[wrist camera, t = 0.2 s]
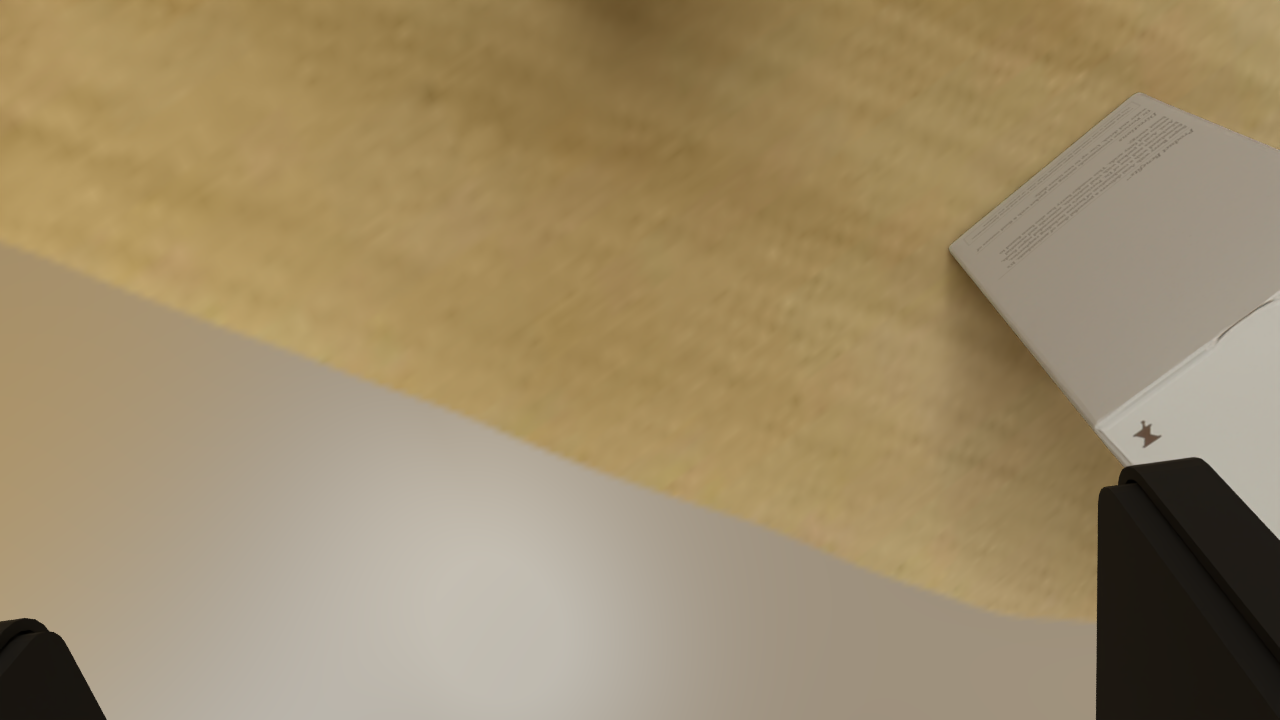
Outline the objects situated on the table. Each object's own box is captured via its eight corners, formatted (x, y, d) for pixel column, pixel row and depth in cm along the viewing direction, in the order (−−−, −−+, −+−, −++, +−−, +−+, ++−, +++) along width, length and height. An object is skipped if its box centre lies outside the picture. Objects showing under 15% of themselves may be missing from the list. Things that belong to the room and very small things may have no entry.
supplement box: (1071, 393, 42) (1262, 631, 29) (941, 246, 40) (1083, 432, 26) (1269, 250, 39) (1584, 441, 26) (1142, 82, 37) (1418, 195, 23)
